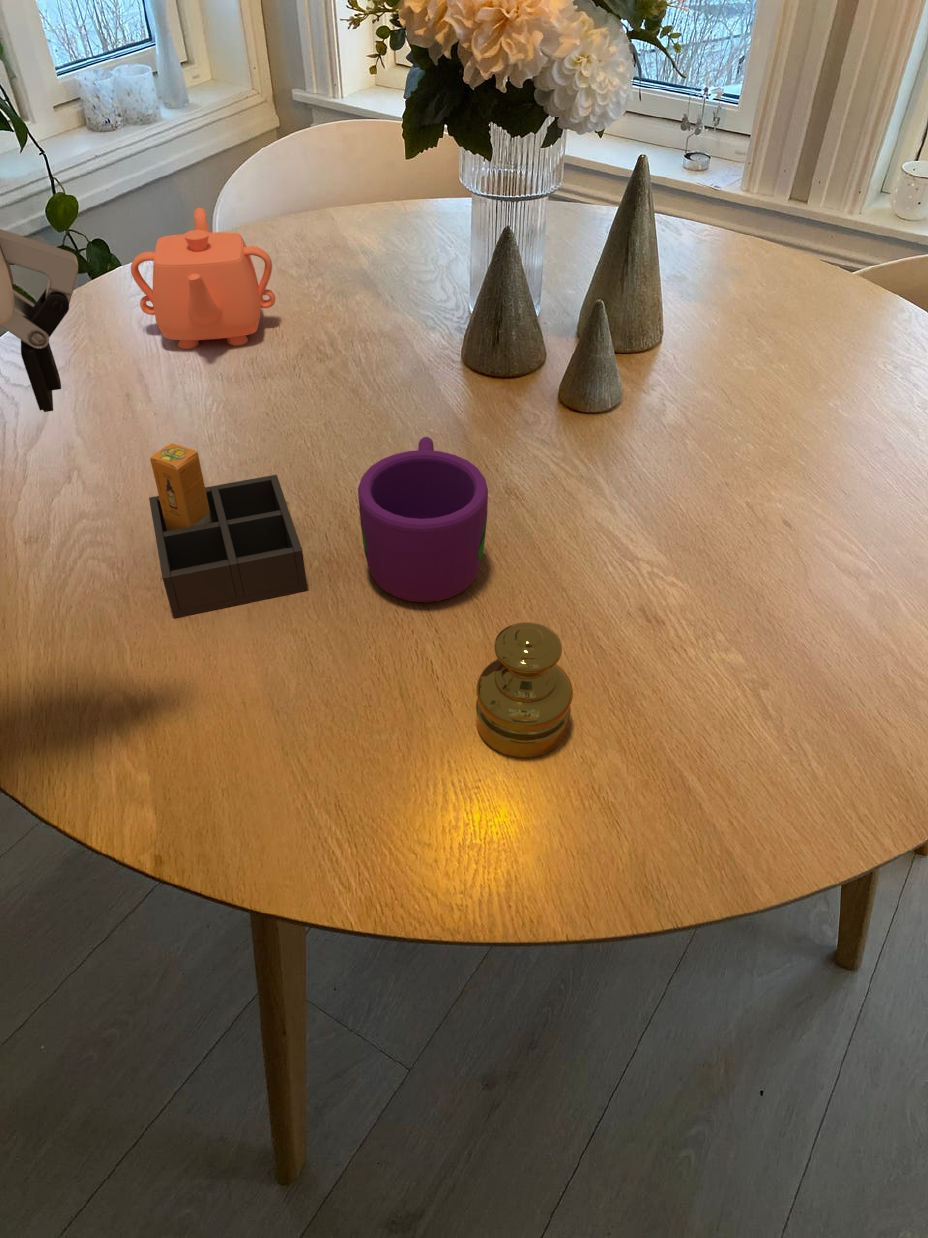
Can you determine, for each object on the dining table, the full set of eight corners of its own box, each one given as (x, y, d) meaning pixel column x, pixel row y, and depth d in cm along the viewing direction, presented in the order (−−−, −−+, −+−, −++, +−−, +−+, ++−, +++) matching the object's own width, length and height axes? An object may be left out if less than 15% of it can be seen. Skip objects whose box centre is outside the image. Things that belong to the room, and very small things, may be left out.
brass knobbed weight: (579, 751, 75) (593, 663, 68) (487, 767, 74) (491, 679, 67) (553, 683, 80) (563, 594, 73) (466, 696, 79) (468, 608, 72)
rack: (173, 618, 85) (162, 578, 82) (159, 536, 93) (148, 497, 90) (307, 590, 88) (302, 550, 85) (282, 513, 96) (276, 474, 93)
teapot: (210, 373, 116) (191, 272, 107) (124, 331, 123) (100, 233, 114) (299, 329, 124) (288, 231, 116) (214, 292, 132) (198, 197, 123)
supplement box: (219, 538, 92) (200, 450, 85) (196, 558, 89) (174, 469, 83) (192, 527, 93) (171, 439, 86) (168, 547, 91) (145, 459, 84)
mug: (486, 613, 86) (489, 525, 79) (359, 612, 86) (351, 524, 79) (483, 497, 99) (485, 412, 92) (372, 496, 98) (367, 411, 92)
